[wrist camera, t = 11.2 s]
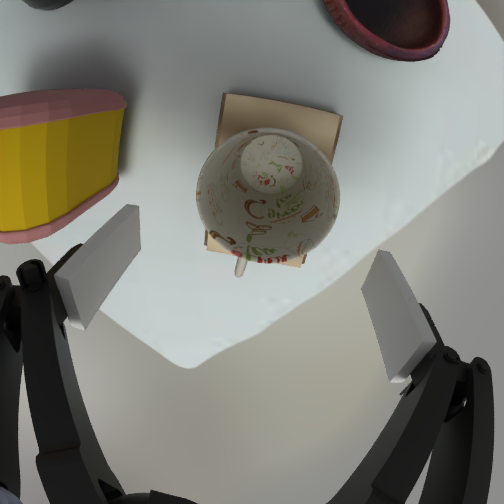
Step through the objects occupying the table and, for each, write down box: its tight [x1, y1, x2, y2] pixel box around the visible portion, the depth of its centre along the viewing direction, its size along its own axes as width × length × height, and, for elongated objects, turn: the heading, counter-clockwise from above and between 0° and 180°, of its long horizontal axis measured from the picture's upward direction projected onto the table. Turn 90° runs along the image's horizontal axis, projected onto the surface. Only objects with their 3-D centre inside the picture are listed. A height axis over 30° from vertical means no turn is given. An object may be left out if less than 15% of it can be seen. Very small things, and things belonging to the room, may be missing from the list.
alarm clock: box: [0, 89, 127, 244], centre depth 19 cm, size 18×11×19 cm, turn 76°
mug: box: [196, 127, 340, 277], centre depth 21 cm, size 8×13×10 cm, turn 166°
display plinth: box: [204, 93, 343, 268], centre depth 27 cm, size 16×11×4 cm
